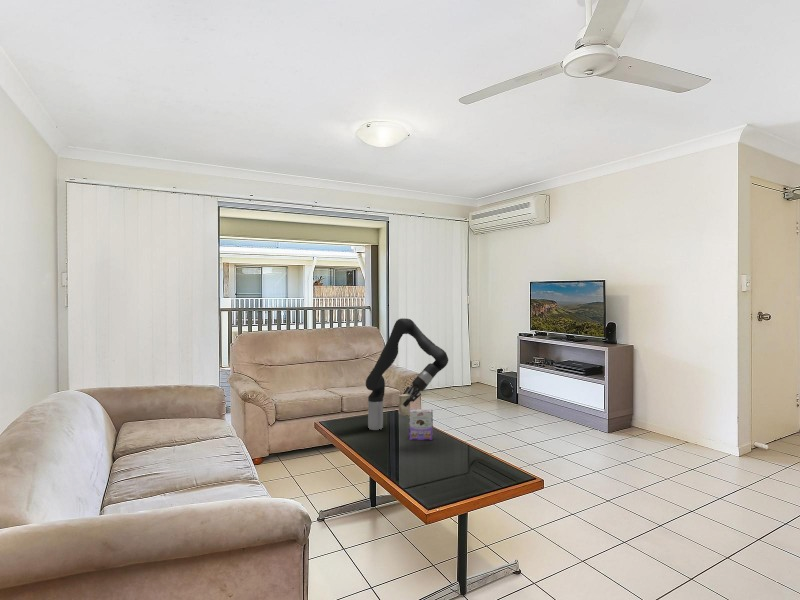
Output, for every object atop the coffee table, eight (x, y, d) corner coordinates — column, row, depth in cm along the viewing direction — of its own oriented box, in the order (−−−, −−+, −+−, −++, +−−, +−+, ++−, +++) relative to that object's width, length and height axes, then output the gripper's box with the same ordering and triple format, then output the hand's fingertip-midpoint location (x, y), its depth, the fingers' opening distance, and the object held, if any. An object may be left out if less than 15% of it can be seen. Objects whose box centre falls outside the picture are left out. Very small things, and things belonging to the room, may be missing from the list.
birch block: (398, 413, 241) (398, 394, 241) (406, 412, 242) (406, 394, 242) (402, 415, 236) (402, 396, 236) (409, 414, 238) (410, 395, 238)
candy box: (432, 437, 260) (433, 409, 260) (432, 440, 254) (432, 411, 254) (409, 436, 262) (409, 408, 262) (408, 439, 256) (408, 411, 256)
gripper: (412, 374, 249) (392, 397, 244) (424, 378, 236) (403, 403, 231) (421, 382, 251) (401, 406, 247) (433, 387, 238) (412, 412, 234)
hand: (402, 404), depth 239 cm, fingers closed on birch block, 4 cm apart
